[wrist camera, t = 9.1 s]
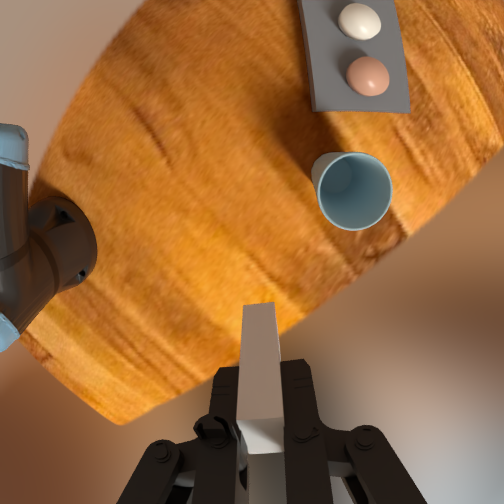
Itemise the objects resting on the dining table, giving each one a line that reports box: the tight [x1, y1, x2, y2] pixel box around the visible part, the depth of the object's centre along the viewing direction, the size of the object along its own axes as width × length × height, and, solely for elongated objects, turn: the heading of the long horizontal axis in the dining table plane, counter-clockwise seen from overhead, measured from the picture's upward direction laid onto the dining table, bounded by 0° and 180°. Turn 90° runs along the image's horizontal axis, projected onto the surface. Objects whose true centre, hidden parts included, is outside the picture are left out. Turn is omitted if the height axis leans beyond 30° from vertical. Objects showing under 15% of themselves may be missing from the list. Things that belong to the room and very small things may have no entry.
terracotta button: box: [346, 57, 389, 97], centre depth 27 cm, size 5×5×4 cm
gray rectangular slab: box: [297, 0, 410, 113], centre depth 26 cm, size 12×22×3 cm, turn 6°
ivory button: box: [338, 3, 381, 41], centre depth 24 cm, size 5×5×4 cm
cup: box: [311, 152, 393, 230], centre depth 31 cm, size 8×8×10 cm
